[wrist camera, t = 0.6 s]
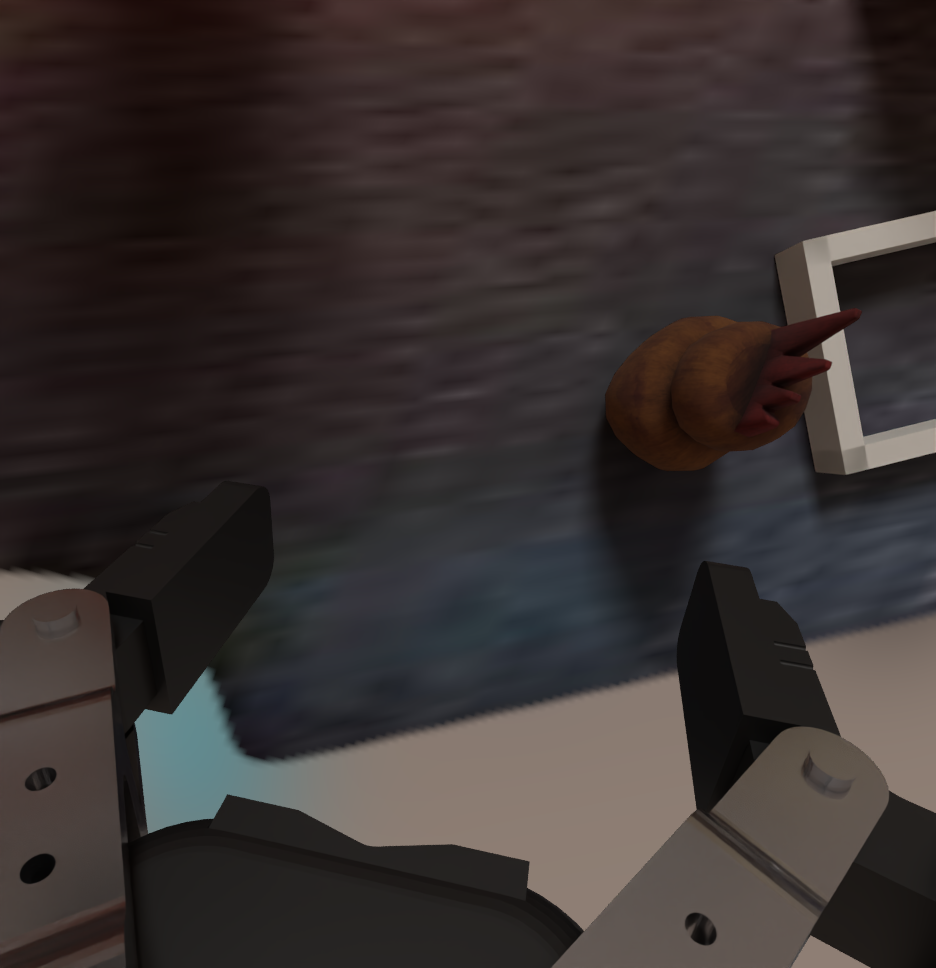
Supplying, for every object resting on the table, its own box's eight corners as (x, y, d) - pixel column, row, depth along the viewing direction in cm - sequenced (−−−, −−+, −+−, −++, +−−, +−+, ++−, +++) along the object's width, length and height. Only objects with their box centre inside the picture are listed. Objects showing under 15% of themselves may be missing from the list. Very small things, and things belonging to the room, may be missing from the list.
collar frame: (774, 255, 34) (802, 241, 32) (998, 203, 35) (1043, 186, 33) (815, 472, 35) (845, 474, 33) (1032, 417, 36) (1077, 416, 34)
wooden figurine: (656, 311, 34) (845, 216, 19) (735, 389, 35) (977, 356, 20) (566, 409, 34) (685, 391, 19) (646, 486, 35) (821, 525, 20)
